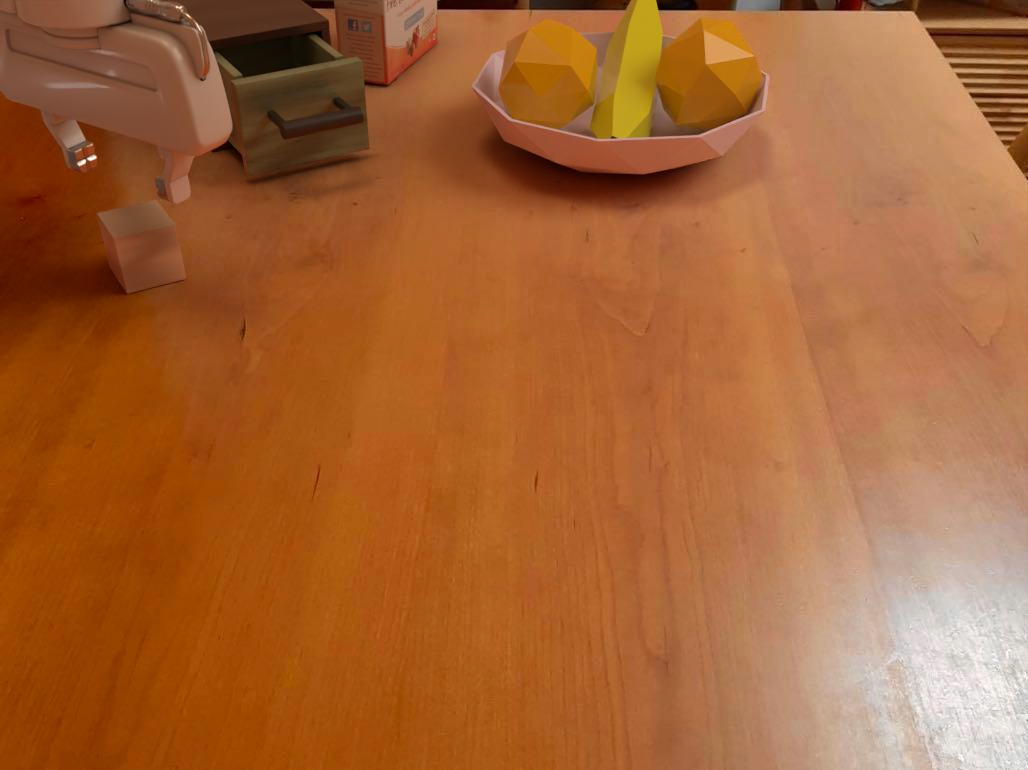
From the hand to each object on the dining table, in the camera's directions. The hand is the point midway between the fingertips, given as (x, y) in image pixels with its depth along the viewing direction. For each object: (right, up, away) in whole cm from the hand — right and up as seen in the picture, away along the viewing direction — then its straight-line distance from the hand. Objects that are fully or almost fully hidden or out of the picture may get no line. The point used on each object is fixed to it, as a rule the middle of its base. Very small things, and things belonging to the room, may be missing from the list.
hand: (128, 183), depth 85 cm
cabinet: (+2, +16, +29) cm, 33 cm away
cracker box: (+15, +25, +39) cm, 49 cm away
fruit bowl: (+38, +11, +24) cm, 47 cm away
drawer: (+8, +10, +21) cm, 25 cm away
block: (0, -5, +5) cm, 7 cm away
